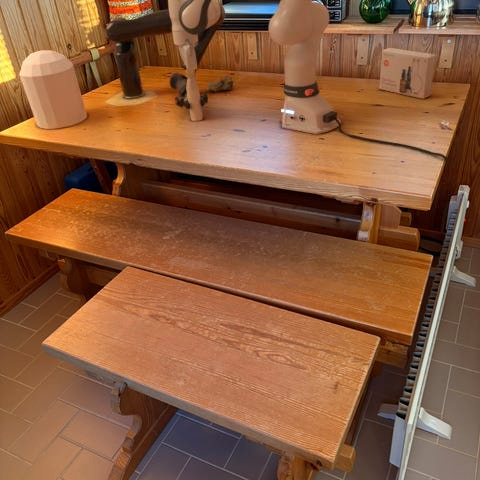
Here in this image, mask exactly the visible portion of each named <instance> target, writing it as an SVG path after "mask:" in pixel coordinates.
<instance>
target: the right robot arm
mask: <svg viewBox="0 0 480 480" xmlns="http://www.w3.org/2000/svg"><path fill="white" fill-rule="evenodd" d="M219 3H220V2H219V1H218V0H167V5H168V9H169V14H170V18H171V21H172V33H171V34H172V39H173V44H174V45H175V46H177V48H178V51H179V55H180V58H181V60H182V62H184V64H185V66H186V69H188V72H189V78H190V79H193V78H194V69H197V70H198V68H197V61H196V55H195V50H194V47H195V43H196V42H198V36H197V34H200V33H201V32H203V31H204V30H205V29H207V28H209V27H210V26H212V25H214V24H215V23H216V22H217V21H218V20H219V18H220V15H221V8H220V5H219ZM329 23H330V13H329V10H328V8H327V7H326V6H325V5H324V4H323V3H321V2H316V1H315V2H313V0H280V1H279V4H278V7H277V9H276V11H275V13H274V14H273V15H272V17H271V19H269V22H268V34H269V38H270V39H271V40H272V42H273V43H274V44H276V45H278V46H290V48H289V50H288V53H287V55H286V56H285V58H284V62H283V67H284V68H283V70H284V82H283V89H282V90H283V94H284V103H283V108H282V109H281V113H282V116H281V120H280V121H281V128H282V129H288V130H292V131H298V132H303V133H309V134H313V135H314V134H315V135H319V134H324V133H328V132H331V131H332V130H335V129H337V128H338V131H339V132H340V133H341V134H343V135H345V136H347V137H349V138H355V139H359V140H364V141H368V142H373V143H374V142H375V143H378V144H379V143H380V144H385V145H393V146H398V147H403V148H408V149H412V150H416V151H419V152H422V153H426V154H428V155H432V156H439V157H441V158H442V159H443V160H444V161H445V163H450V160H449V159H448V157H447V156H446V155H444V154H443V153H440V152H434V151H430V150H427V149H425V148H420V147H418V146H413V145H409V144H405V143H404V144H403V143H400V142H399V143H398V142H393V141H385V140H381V139H376V138H375V139H374V138H368V137H364V136H359V135H355V134H348V133H345V132H344V131H343V130H342V127H341V126H342V125H341V124H342V120H341V119H340V118H338V111H335V110H334V109H335V108H334V106H333V105H332V104H331V103H330V102H329V101H328V100H327V99H326V98H325V97H324V96H323V95H322V94H321V93H320V90H321V89H322V86H323V85H322V84H320V85H319V84H318V81H317V58H318V54H319V53H318V52H319V49H320V44H321V42H322V38H323V35H324V33H325V31H326V29H327V28H328V27H329ZM449 201H450V200H448V201H446V202H445V206H444V211H443V215H442V221H441V225H440V235H443V233H444V228H445V223H446V217H447V213H448V208H449V203H450V202H449Z"/></svg>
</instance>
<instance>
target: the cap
mask: <svg viewBox="0 0 480 480" xmlns="http://www.w3.org/2000/svg"><path fill="white" fill-rule="evenodd" d="M196 74H197V72H196V73H195V69H194V76H195V77H196ZM184 75H185V76H186V77H189V72H188V69H186V70H185V69H184Z"/></svg>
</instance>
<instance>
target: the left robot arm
mask: <svg viewBox="0 0 480 480" xmlns="http://www.w3.org/2000/svg"><path fill="white" fill-rule="evenodd" d="M218 3H219V5H220V8H221V15H220V18H219V20H218V21H217V22H216V23H215V24H214V25H212V26H210V27H209V28H207V29H205V30H204V31H203V32H201V33H200V34H197V36H198V42H196V43H195V47H194V50H195V55H196V61H197V69H195V73H196V74H197V70H198V68H199V66H200V64H201V63H202V59H203V58H204V54H205V53H206V51H207V48H208V47H209V44H210V43H211V41H212V39H213V37H214V35H215V34H216V32H217V31H218V29H219V28H220V26H221V25H222V23H223V22H224V21H225V18H226V10H225V7H224V6H223V4H221V3H220V2H218ZM105 33H106V37H107V38H108V39H109V40H110V41H111V42H113V43H114V52H113V53H114V54H113V55H114V59H115V64H116V67H117V77H119V83H120V87H121V91H122V96H123V98H124V99H127V100H128V99H129V100H131V99H137V98H138V99H139V98H141V97H143V96H144V90H143V85H144V84H143V82H142V79H141V73H140V70H139V65H138V59H137V55H136V41H135V39H138V38H145V37H157V36H163V35H169V34H170V35H171V34H173V33H172V21H171V18H170V14H169V8H168V9H163V10H157V11H153V12H150V13H147V14H144V15H142V16H139V17H136V18H132V19H127V18H125V17H122V16H121V17H116V18H114V19H113V20H111V21H109V22H108V24H107V25H106V28H105ZM180 66H181V67H182V69H183V70H184V71H185V70H186V66H185V64H184V62H183V61H181V65H180ZM194 77H195V78H196V76H194ZM187 79H188V78H187V77H186V75H185V74H182V73H180V72H176V71H175V72H173V73H172V74H171V76H170V77H169V86H170V87H171V89H173V90H174V91H175V92H177V93H178V95H179V96H176V97H174V103H175V105H176V106H178V107H179V108H183V107H184V108H185V109H187V110H189V109H190V104H189V102H188V97H187V91H186V86H187ZM200 100H201V107H202V108H204V107H205V106H206V104H209V103H208V102H209V94H208V92H207V91H206V92H204V93H203V94H202V93H200Z"/></svg>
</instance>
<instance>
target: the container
mask: <svg viewBox="0 0 480 480" xmlns="http://www.w3.org/2000/svg"><path fill="white" fill-rule="evenodd" d="M75 70H76V69H75V67H74V63H73V62H72V61H71V60H69V58H68V57H67V56H66V55H65V54H62V53H61V52H58V51H55V50H50V49H49V50H46V49H45V50H43V49H41V50H38V51H34V52H32V53H30V54H29V55H28V56H26V58H25V59H24V60H23V61H22V63H21V67H20V70H19V78H20V81H21V84H22V87H23V89H24V92H25V95H26V98H27V100H28V104H29V106H30V109H31V112H32V115H33V118H34V120H35V123H36V126H37V127H39V128H41V129H46V130H51V129H53V130H54V129H63V128H67V127H70V126H74V125H77V124H79V123H81V122H83V121H84V120H86V118H87V117H88V112H87V110H86V106H85V103H84V100H83V96H82V93H81V88H80V84H79V81H78V78H77V74H76V71H75Z"/></svg>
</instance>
